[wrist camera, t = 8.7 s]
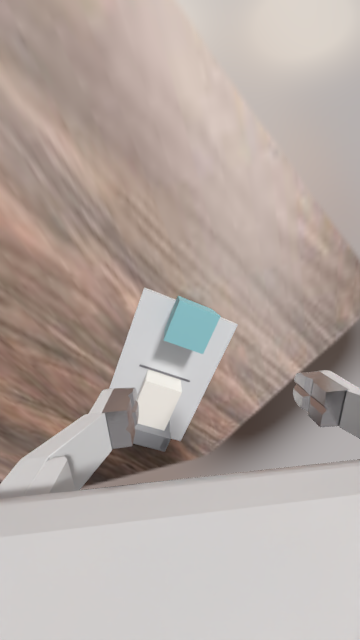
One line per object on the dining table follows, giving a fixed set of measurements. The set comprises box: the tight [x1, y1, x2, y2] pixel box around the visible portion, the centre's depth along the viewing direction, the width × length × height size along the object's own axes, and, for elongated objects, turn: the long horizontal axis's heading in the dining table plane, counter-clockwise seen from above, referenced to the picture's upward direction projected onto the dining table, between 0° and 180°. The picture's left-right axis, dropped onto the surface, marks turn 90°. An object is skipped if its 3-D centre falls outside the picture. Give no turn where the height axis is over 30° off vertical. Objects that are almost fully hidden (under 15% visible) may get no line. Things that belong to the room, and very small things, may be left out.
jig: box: [109, 288, 238, 452], centre depth 25 cm, size 22×14×5 cm, turn 158°
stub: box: [164, 296, 221, 354], centre depth 22 cm, size 5×5×4 cm
